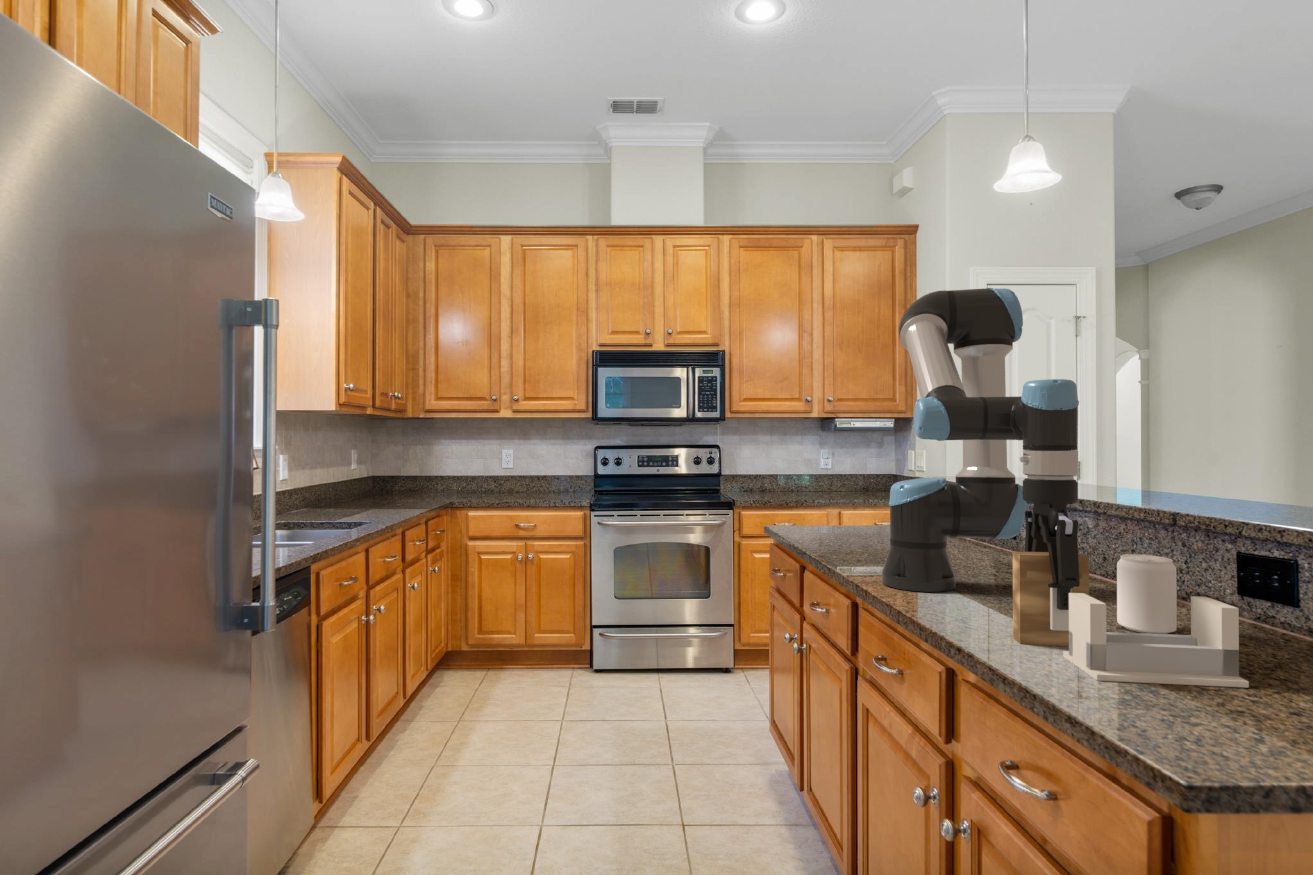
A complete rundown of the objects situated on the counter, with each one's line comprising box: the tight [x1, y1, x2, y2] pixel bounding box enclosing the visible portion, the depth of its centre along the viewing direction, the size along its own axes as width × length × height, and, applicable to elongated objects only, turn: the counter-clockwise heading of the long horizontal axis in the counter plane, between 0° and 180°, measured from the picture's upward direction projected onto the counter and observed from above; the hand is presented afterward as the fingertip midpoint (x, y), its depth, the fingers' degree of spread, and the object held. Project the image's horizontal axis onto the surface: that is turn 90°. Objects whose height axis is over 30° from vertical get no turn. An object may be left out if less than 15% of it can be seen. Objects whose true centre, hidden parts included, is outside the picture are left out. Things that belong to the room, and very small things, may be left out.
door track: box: [1062, 593, 1250, 689], centre depth 93 cm, size 10×18×10 cm, turn 81°
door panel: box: [1012, 551, 1090, 647], centre depth 106 cm, size 3×10×14 cm, turn 81°
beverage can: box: [1116, 553, 1178, 634], centre depth 113 cm, size 8×8×12 cm
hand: (1050, 622), depth 106 cm, fingers open, 7 cm apart
